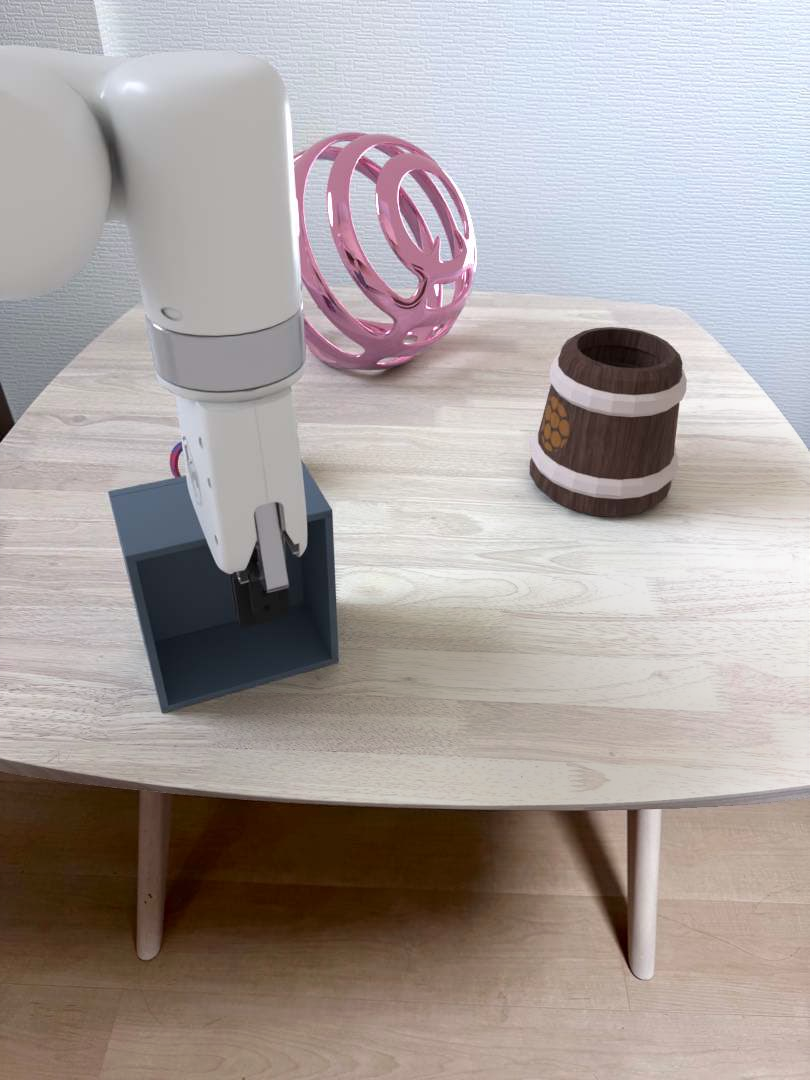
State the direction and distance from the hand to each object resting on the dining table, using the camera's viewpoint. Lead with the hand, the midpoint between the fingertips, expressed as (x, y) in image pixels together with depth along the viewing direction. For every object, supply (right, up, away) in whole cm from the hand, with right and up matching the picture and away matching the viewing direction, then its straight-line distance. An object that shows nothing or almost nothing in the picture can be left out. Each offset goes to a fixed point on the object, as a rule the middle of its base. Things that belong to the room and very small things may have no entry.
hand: (262, 613), depth 53 cm
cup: (-10, +10, +35) cm, 38 cm away
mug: (+29, +12, +38) cm, 50 cm away
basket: (-4, -5, +15) cm, 16 cm away
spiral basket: (+5, +29, +59) cm, 66 cm away
